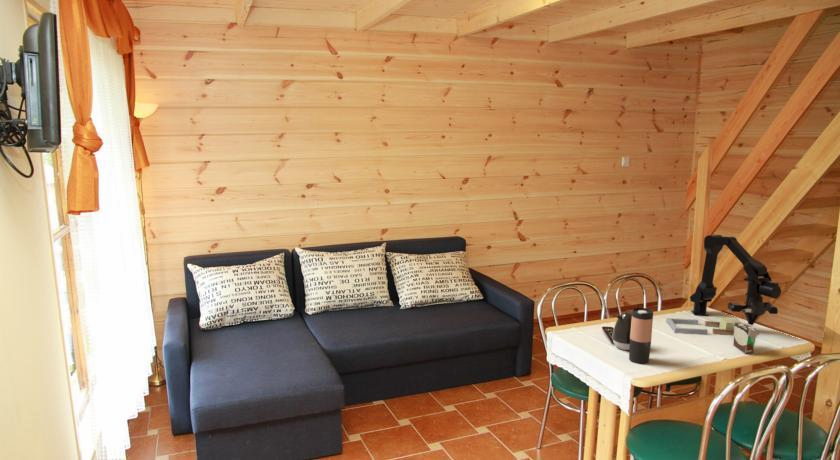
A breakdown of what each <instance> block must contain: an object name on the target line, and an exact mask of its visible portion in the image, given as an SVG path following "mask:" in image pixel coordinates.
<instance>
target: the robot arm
mask: <svg viewBox="0 0 840 460" xmlns="http://www.w3.org/2000/svg"><path fill="white" fill-rule="evenodd" d="M724 246H726V247H727V248H728V249H729V251H730V252H732V254H733V255H734V256H735V258H737V260H738V261H739V262H740V263H741V264H742V266H743V270H744V272H745V274H746V275H747V276H746V277H744V278H743V281H745V282H747V288H746V292H745V301H744V304H740V303H739V302H737V301H735V302H734V301H730V302H728V304H727V308H728V309H729V310H730V311H731V312H733V313H734V312H735V313H740V312H742V313H744V315H745V318H746V321H747V324H750V325H753V326H754V324H755V322H756V320H757V319H758V318H759V317H760V316H763V315H764V314H766V312H768V313H769V314H770V315H771V314H773V315H778V313H779V308H778V307H777V306H775V305H773V304H771V302H770V301H769V302H766V301H764V299H763V297H764V296H765V297H768V298H770V299H775V300H777V299H778V298H779V297H780V296H781V294H782V289H781V286H780V285H779V282H775V281H773V279H772V277H771V276H770V274H769V272H768V267H767V266H766V265H764V263H762V262H761V261H759V260H757V259H755V258H754V257H753V256H752V255H751V254H750V253H749V252H748V251H747V250H746V249H745V248H744V246H743V245H742V244H741V243H740V242H739V241H738V240H737V238H736V237H735V236H732V235H731V236H722V234H710V235H706V236H705V237H704V240H703V248H704V250H705V258H704V264H703V270H702V276H701V281H700V282H699V283H698V285H696V288H695V292H694V293H693V294H691V295H690V296H689V299H690V300H689V301H690V302H693V309H692V310H691V309H690V312H691V313H692V314H693V315H694V316H706V317H707V316H708V317H709V316H710V315H709V313H708V312H707V308H708V303H712V300H713V299H714V298H715V296H716V295H717V289H718V287H717V286H715V285H714V278H715V271H716V266H717V262H718V261H717V260H718V255H719V254H720V252H721V251H722V250H723V247H724Z"/></svg>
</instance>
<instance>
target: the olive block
mask: <svg viewBox="0 0 840 460" xmlns="http://www.w3.org/2000/svg"><path fill="white" fill-rule="evenodd" d="M719 322H720V325H719V327H718V329H729V330H734V326H733V325H734V322H741V323H743V322H742V321H740V320H739V319H738V318H734V317H732V318H731V317H720V318H719Z"/></svg>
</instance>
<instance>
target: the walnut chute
mask: <svg viewBox="0 0 840 460" xmlns="http://www.w3.org/2000/svg"><path fill="white" fill-rule="evenodd" d="M719 325H720V321H711V320H710V321H709V320H706V321H705V320H704V326H705V327H708V328H709V327H713V328H712V334H713V335H724V336H734V330H729V329H720V328H719Z"/></svg>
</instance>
